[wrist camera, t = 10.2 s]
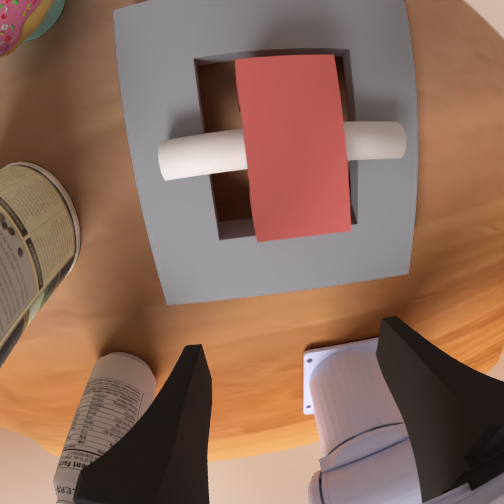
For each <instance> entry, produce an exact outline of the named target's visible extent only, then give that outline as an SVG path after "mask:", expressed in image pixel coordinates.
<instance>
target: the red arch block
mask: <svg viewBox="0 0 504 504" xmlns="http://www.w3.org/2000/svg"><path fill="white" fill-rule="evenodd" d="M235 72H236V89H237V97H238V105H239V112H241V120H242V128H243V136H244V144H245V152H246V160H247V168H248V177H249V185H250V188H249V194H250V203H251V211H252V217H253V222H254V228H255V233H256V239H257V242H264V241H272V240H281V239H289V238H297V237H305V236H314V235H322V234H331V233H339V232H348V231H351V216H350V195H349V179H348V165H347V153H346V142H345V132H344V122H343V114H342V105H341V98H340V90H339V83H338V76H337V70H336V63H335V57H334V55H285V56H268V57H255V58H245V59H236V60H235Z"/></svg>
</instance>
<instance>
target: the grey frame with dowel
mask: <svg viewBox="0 0 504 504" xmlns="http://www.w3.org/2000/svg"><path fill="white" fill-rule="evenodd" d="M113 21H114V35H115V47H116V57H117V67H118V76H119V84H120V92H121V99H122V106H123V113H124V119H125V126H126V132H127V138H128V143H129V149H130V155H131V160H132V165H133V170H134V175H135V180H136V185H137V190H138V194H139V199H140V204H141V208H142V212H143V217H144V221H145V225H146V229H147V233H148V237H149V241H150V245H151V249H152V253H153V257H154V261H155V264H156V268H157V272H158V275H159V279H160V282H161V286H162V289H163V293H164V296H165V300H166V303H167V306H168V305H179V304H189V303H199V302H209V301H218V300H227V299H236V298H245V297H254V296H262V295H270V294H278V293H286V292H293V291H301V290H308V289H315V288H322V287H329V286H336V285H343V284H350V283H356V282H363V281H369V280H375V279H381V278H388V277H394V276H399V275H405V274H409V267H410V260H411V252H412V243H413V234H414V224H415V213H416V199H417V180H418V109H417V91H416V78H415V67H414V57H413V49H412V41H411V34H410V27H409V21H408V15H407V10H406V4H405V0H148V1H144V2H141V3H137V4H133V5H130V6H126V7H123V8H120V9H117V10H113ZM285 55H334V56H338V57H343V64H344V74H345V84H346V95H347V108H348V121H347V122H344V132H345V142H346V153H347V161H348V160H350V171H351V207H350V216H351V231H348V232H339V233H331V234H322V235H314V236H305V237H297V238H289V239H281V240H272V241H264V242H257V239H256V233H255V228H254V222H253V218H245V219H237V220H229V221H221V222H218V215H217V209H216V203H215V196H214V189H213V183H212V176H211V174H214V173H221V172H229V171H237V170H245V169H248V168H247V160H246V152H245V144H244V136H243V129H235V130H227V131H220V132H213V133H206V134H205V127H204V119H203V112H202V104H201V96H200V88H199V80H198V72H197V66H201V65H208V64H215V63H222V62H230V61H235V60H236V59H245V58H255V57H268V56H285Z"/></svg>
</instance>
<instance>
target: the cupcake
mask: <svg viewBox="0 0 504 504" xmlns="http://www.w3.org/2000/svg"><path fill="white" fill-rule="evenodd" d="M64 4H65V0H0V58H1V57H3V56H5V55H8V54H10V53H12V52H13V51H14V50H15V49H16V48H17V47H18V46H19V45H20V44H21V43H22V42H25V41H30V40H33V39H36V38H38V37H40V36H41V35H43V34H44V33H46V32H47V31H48V30H49V29H50V28H51V27H52V26H53V25H54V24H55V22H56V21H57V19H58V18H59V16H60V14H61V12H62V10H63V7H64Z"/></svg>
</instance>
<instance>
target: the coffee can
mask: <svg viewBox="0 0 504 504" xmlns="http://www.w3.org/2000/svg"><path fill="white" fill-rule="evenodd" d="M79 250H80V227H79V222H78V217H77V214H76V211H75V208H74V205H73V203H72V201H71V198H70V196H69V195H68V193H67V192H66V190H65V189H64V188H63V186H62V184H61V183H60V182H59V181H58V180H57V179H56V178H55V177H54V176H53V175H52V174H51V173H50V172H48V171H47V170H45V169H44V168H42V167H40V166H38V165H35V164H33V163H27V162H15V163H11V164H8V165H6V166H4V167H3V168H1V169H0V368H1V366H2V365H3V363H4V362H5V360H6V358H7V357H8V355H9V354H10V352H11V351H12V349H13V347H14V346H15V344H16V343H17V341H18V340H19V338H20V337H21V335H22V334H23V332H24V331H25V330H26V328H27V327H28V325H29V324H30V322H31V321H32V320H33V318H34V317H35V316H36V314H37V313H38V311H39V310H40V309H41V307H42V306H43V305H44V303H45V302H46V301H47V300H48V298H49V297H50V295H51V294H52V293H53V292H54V290H55V289H56V288H57V287H58V285H59V284H60V283H61V281H62V280H63V279H64V278H65V277H66V276H67V275H68V274H69V273H70V271H71V270H72V269H73V267H74V265H75V263H76V260H77V258H78V254H79Z"/></svg>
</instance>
